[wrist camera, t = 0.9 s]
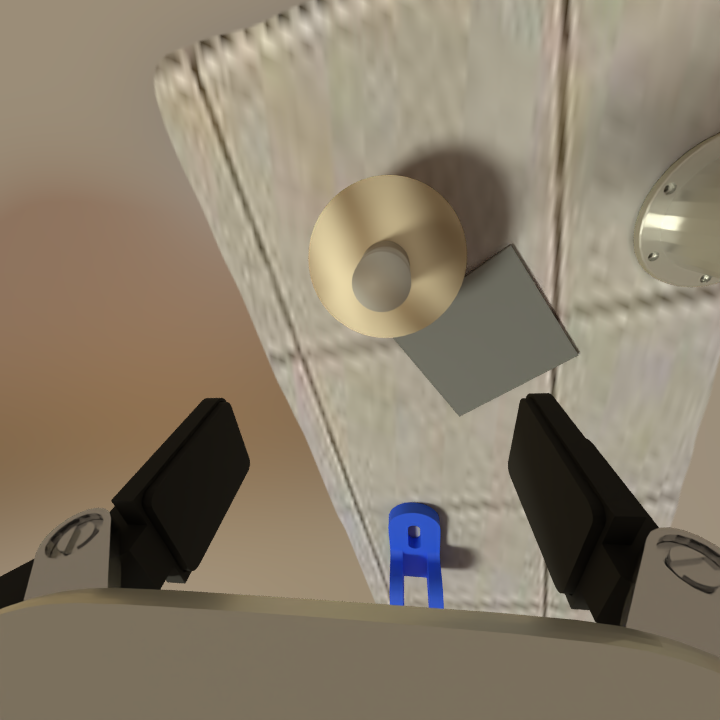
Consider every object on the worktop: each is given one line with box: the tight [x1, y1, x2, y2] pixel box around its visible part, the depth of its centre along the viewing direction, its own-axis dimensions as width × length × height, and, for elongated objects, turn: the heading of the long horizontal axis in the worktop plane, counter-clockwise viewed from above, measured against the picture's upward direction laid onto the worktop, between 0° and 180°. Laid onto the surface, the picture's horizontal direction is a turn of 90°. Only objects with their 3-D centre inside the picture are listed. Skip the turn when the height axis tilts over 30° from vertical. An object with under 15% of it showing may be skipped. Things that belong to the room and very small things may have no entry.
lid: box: [308, 175, 467, 338], centre depth 24 cm, size 13×13×7 cm
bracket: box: [389, 502, 444, 609], centre depth 51 cm, size 18×8×9 cm, turn 6°
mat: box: [393, 245, 578, 416], centre depth 35 cm, size 15×15×1 cm
